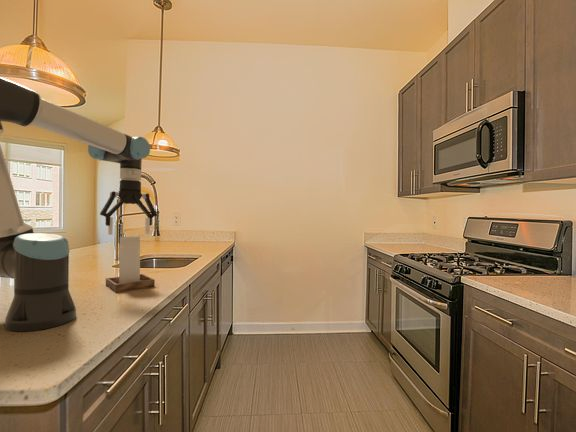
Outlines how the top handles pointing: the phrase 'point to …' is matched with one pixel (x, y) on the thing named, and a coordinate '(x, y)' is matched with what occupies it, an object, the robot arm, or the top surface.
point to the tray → (130, 284)
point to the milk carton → (129, 259)
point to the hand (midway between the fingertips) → (129, 234)
